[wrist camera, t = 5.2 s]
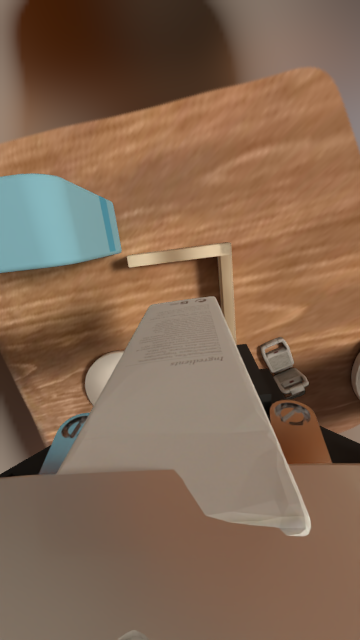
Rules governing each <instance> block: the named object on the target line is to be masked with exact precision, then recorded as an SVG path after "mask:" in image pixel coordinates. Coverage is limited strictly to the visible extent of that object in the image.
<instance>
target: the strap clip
mask: <svg viewBox="0 0 360 640" xmlns="http://www.w3.org/2000/svg"><path fill="white" fill-rule="evenodd" d="M280 342H282V343H283V345H284V346H282V347H280V348H277V349H275V350H273V351H270V352H268V353H266V354H265V349H266V348H268V347H271V346H273V345H275V344H277V343H280ZM260 350H261V354H262V356H263V358H264V360H265V362H266V364H267V366H268V367H269V369H270V371H271V372H274V373H278V372H280V371H283V370H285V369H288V368H290V367H293V366H292V365H293V364H294V361H293V358H292V355H291V352H290V348H289V346H288V345H287V343H286V341H285V340H284V339H283V338H281V337H279V338H276V339H273V340H271V341H269V342H266V343H265V344H263V345H261V346H260ZM274 380H275V381H276V383H277V385H278V387H279V388H280V390H281V392H282V393H283V394H289V393H291V394H292V395H293V394H295V395H293V396H290V397H287V398H285V399H286V400H291V399H293V398H296V397H299V396H301V395H304V394H305V388H304V387H307V386H308V385H309V382H308V380H307V378H306V377H305V376H304V375H303V374H302V373H301V372H300V371H299V370H297V369H296V368H291V369H288V370H286V371H283V372H281V373H278V374H276V375H275V376H274ZM303 380H304V382H302V381H303ZM301 391H302V392H301ZM299 392H300V393H299ZM296 393H298V394H296Z"/></svg>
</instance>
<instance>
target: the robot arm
mask: <svg viewBox="0 0 360 640" xmlns="http://www.w3.org/2000/svg"><path fill="white" fill-rule="evenodd" d="M236 346H237V349H238V351H239V353H240V355H241V358H242V360H243V362H244V365H245V367H246V369H247V371H248V374H249V376H250V378H251V380H252V383H253V385H254V387H255V390H256V392H257V394H258V396H259V398H260V400H261V403H262V405H263V407H264V410H265V412H266V414H267V417H268V419H269V421H270V424H271V426H272V428H273V430H274V433H275V435H276V437H277V440H278V442H279V444H280V447H281V449H282V452H283V454H284V457H285V459H286V461H287V464H288V466H289V468H290V470H291V473H292V475H293V477H294V480H295V482H296V484H297V487H298V489H299V492H300V494H301V497H302V499H303V502H304V504H305V507H306V509H307V512H308V514H309V517H310V522H311V528H310V532H309V534H308V535H306V536H286V535H285V534H284V533H283V532H282V531H281V530H280V529H279V528H276V527H268V526H256V525H246V524H238V523H231V522H226V521H223V520H220V519H216V518H213V517H209V516H206V515H205V514H204V512H203V511H202V509H201V508H200V506H199V505H198V503H197V502H196V500H195V499H194V497H193V496H192V494H191V493H190V491H189V490H188V488H187V487H186V485H185V483H184V481H183V479H182V478H181V477H180V476H179V475H178V474H177V472H176V471H175V470H174V469H171V470H146V471H123V472H100V473H82V474H64V475H56V473H57V472H58V470H59V468H60V466H61V465H62V463H63V461H64V459H65V458H66V456H67V454H68V452H69V451H70V449H71V447H72V445H73V443H74V442H75V440H76V438H77V437H78V435H79V433H80V431H81V429H82V427H83V425H84V423H85V421H86V419H87V418H88V416H89V414H90V413H83V414H79V415H76V416H74V417H72V418H70V419H68V420H67V421H66V422H64V423H63V424H62V425H61V426H60V428H59V430H58V431H57V434H56V436H55V438H54V440H53V443H52V445H50V446H49V447H47V448H45V449H44V450H42V451H40V452H38V453H37V454H35V455H33V456H31V457H30V458H28V459H26V460H24V461H23V462H21V463H19V464H17V465H16V466H14V467H12V468H10V469H9V470H7V471H5V472H4V473H2V474H0V640H360V444H359V443H357V442H355V441H352V440H350V439H348V438H346V437H343V436H341V435H339V434H337V433H335V432H332V431H330V430H328V429H325V428H323V427H321V426H319V424H318V421H317V418H316V415H315V413H314V412H313V410H312V409H311V408H309V407H308V406H307V405H305V404H303V403H300V402H297V401H293V400H286V399H285V397H284V395H283V393H282V392H281V390H280V388H279V387H278V385H277V383H276V381H275V380H274V378H273V376H272V374H271V373H270V371H269V370H268V369H259V368H258V366H257V364H256V362H255V360H254V358H253V356H252V354H251V352H250V350H249V348H248V346H247V344H242V345H236ZM351 380H352V386H353V390H354V392H355V394H356V395H357V397H358V398H359V399H360V352H359V354H358V356H357V357H356V360H355V362H354V365H353V368H352V374H351Z"/></svg>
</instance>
